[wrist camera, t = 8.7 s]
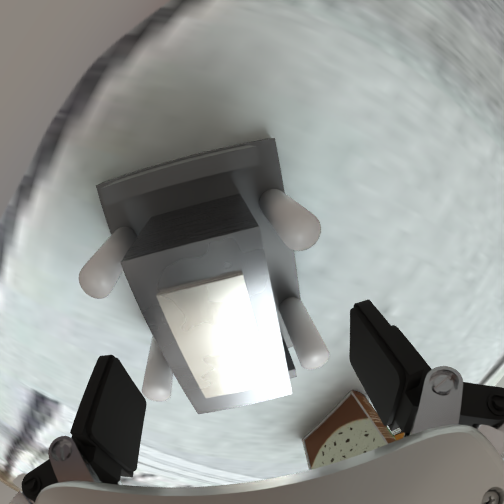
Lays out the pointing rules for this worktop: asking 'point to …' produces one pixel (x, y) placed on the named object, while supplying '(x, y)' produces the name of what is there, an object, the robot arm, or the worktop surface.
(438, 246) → the worktop surface
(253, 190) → the grey pegged block
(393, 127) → the worktop surface
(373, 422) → the food container
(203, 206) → the block
